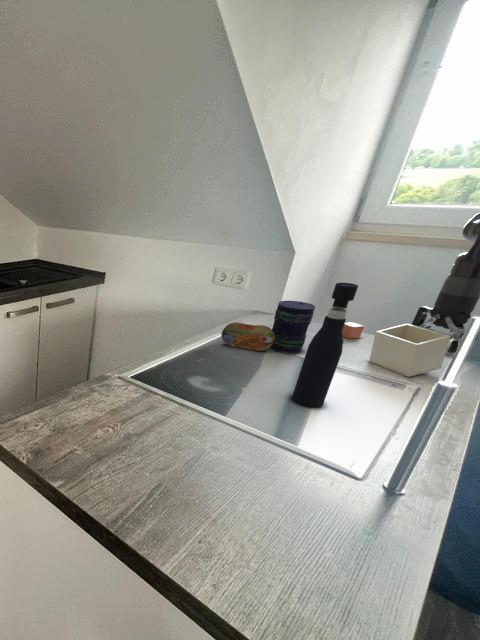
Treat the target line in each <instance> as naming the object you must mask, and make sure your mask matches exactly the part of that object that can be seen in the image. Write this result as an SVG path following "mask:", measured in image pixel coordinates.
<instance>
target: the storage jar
mask: <svg viewBox="0 0 480 640" xmlns="http://www.w3.org/2000/svg"><path fill="white" fill-rule="evenodd" d="M315 310H316V306H315V305H314V304H312V303H309V302H305V301H299V300H281V301H279V302H278V303H277V307H276V310H275V314H274V316H273V319H274V321H273V324H272V328H271V330H272V331H273V333H274V336H275V341H274V343H273V345H272V346H271V347H270V348H269V349H270V350H272V351H275V352H278V353H283V354H300V353H301V352H302V351H303V347H304V345H305V343H306V339H307V332H308V328H309V326H310V324H311V323H312V319H313V318H314V313H315Z"/></svg>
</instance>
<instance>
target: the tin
mask: <svg viewBox="0 0 480 640" xmlns="http://www.w3.org/2000/svg"><path fill="white" fill-rule="evenodd" d="M221 331H222V332H221V339H222V341H223V343H225V344H226V345H227V346H229V347H232V348H237V349H238V348H239V349H245V350H251V351H257V352H261V351H266V350H268V349H270V347H271V346H272V345H273V343H274V341H275V336H274V333H273V331H272V328H271V327H269V326H267V325H263V324H258V323H257V324H256V323H247V322H240V321H235V322H231V323H229V324H227V325H226V326H225V327H224V328H223V329H222V330H221Z"/></svg>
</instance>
